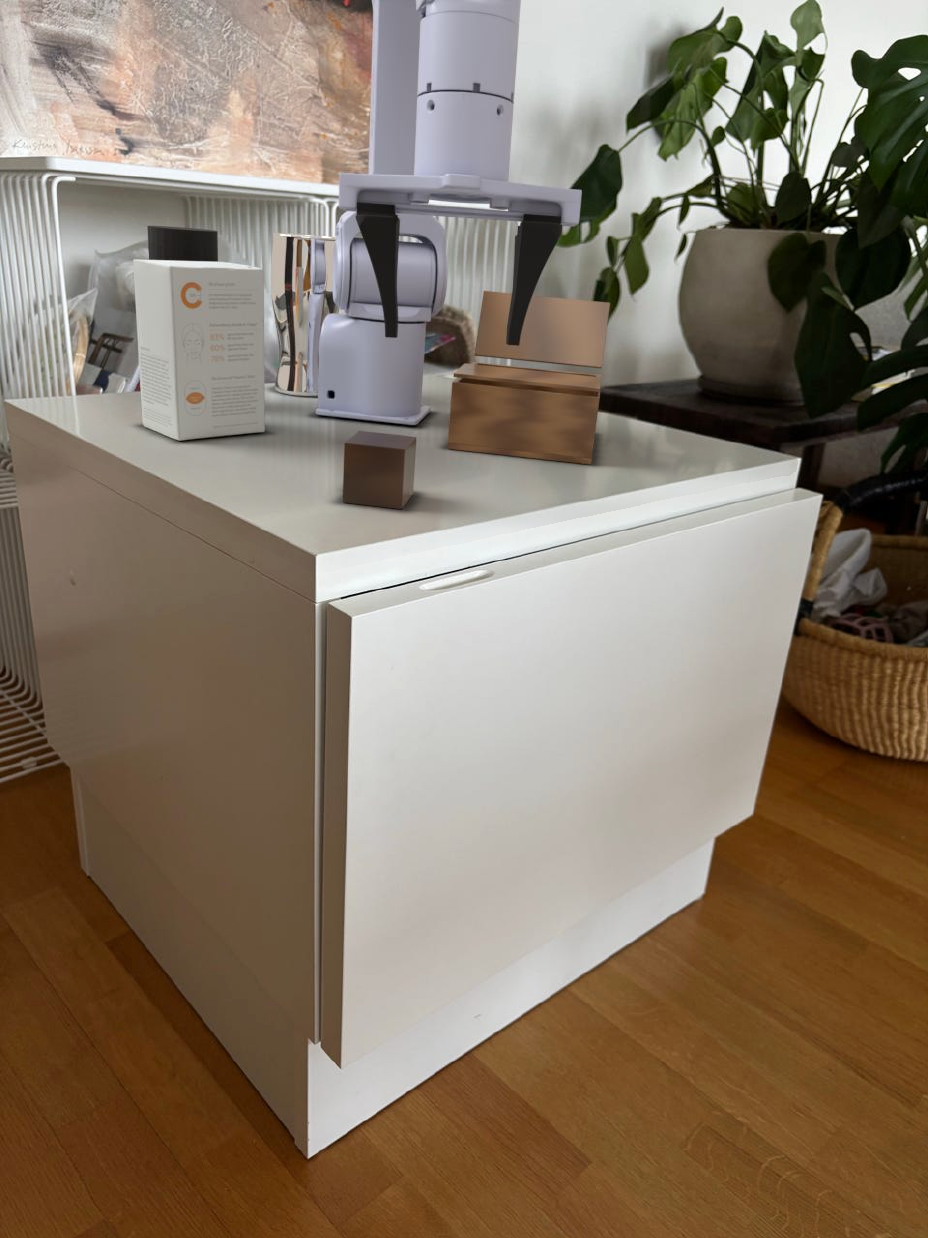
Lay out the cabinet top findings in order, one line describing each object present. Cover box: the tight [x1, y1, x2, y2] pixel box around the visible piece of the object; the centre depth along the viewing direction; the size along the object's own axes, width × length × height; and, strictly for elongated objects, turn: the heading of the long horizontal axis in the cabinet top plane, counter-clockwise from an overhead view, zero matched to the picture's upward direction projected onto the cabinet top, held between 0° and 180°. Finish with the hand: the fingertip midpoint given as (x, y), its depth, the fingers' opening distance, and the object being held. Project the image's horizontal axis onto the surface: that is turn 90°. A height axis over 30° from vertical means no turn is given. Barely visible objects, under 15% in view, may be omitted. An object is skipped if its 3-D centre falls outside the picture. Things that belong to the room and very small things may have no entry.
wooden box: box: [447, 361, 602, 465], centre depth 85 cm, size 12×13×6 cm
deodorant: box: [146, 225, 219, 262], centre depth 88 cm, size 6×6×15 cm
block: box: [342, 430, 417, 510], centre depth 65 cm, size 4×4×4 cm
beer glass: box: [270, 232, 340, 397], centre depth 97 cm, size 7×7×15 cm
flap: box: [474, 290, 611, 369], centre depth 90 cm, size 12×6×1 cm
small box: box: [132, 258, 266, 442], centre depth 77 cm, size 8×6×13 cm
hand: (452, 341), depth 61 cm, fingers open, 7 cm apart
